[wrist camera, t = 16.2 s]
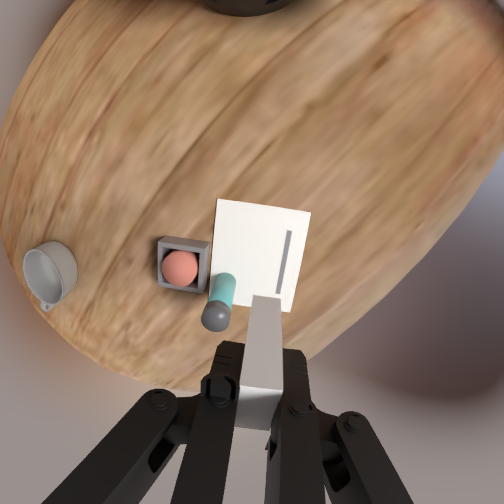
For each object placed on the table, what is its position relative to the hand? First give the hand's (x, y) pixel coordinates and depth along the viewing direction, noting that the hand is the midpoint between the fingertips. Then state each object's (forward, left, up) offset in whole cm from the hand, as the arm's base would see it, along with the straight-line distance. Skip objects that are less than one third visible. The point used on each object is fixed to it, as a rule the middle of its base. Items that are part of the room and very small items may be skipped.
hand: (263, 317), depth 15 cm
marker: (+10, -5, -24) cm, 27 cm away
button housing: (+8, -12, -24) cm, 28 cm away
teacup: (+14, -38, -25) cm, 47 cm away
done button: (+8, -12, -24) cm, 28 cm away
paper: (+6, -1, -24) cm, 25 cm away
